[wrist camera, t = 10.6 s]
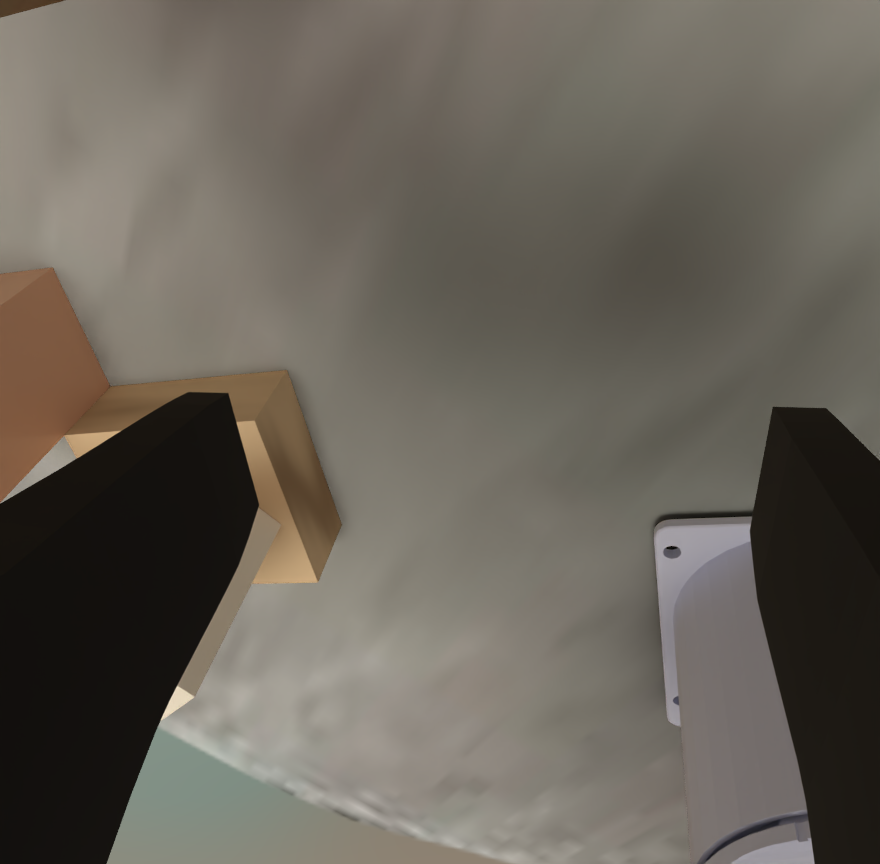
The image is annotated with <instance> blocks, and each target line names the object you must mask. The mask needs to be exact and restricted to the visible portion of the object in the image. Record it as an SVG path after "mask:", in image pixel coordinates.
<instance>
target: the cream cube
mask: <svg viewBox="0 0 880 864" xmlns="http://www.w3.org/2000/svg"><path fill="white" fill-rule="evenodd" d="M280 526H281V524H280V523H278V522H277V521H276V520H274V519H273V518H272V517H270V516H269V515H268V514H266V513H265V512H264V511H263V510H261V509H260V508H259V507H258V511H257V514H256V517H255V520H254V523H253V526H252V529H251V532H250V536H249V539H248V541H247V544H246V547H245V550H244V552H243V555H242V558H241V561H240V563H239V566H238V568H237V570H236V572H235V574H234V576H233V578H232V580H231V582H230V584H229V586H228V588H227V590H226V592H225V594H224V596H223V598H222V600H221V602H220V604H219V606H218V608H217V610H216V612H215V614H214V616H213V618H212V620H211V622H210V624H209V626H208V627H207V629H206V631H205V633H204V635H203V637H202V639H201V641H200V643H199V645H198V647H197V649H196V651H195V653H194V654H193V656H192V658H191V660H190V662H189V664H188V666H187V668H186V670H185V672H184V674H183V676H182V678H181V680H180V681H179V683H178V685H177V687H176V689H175V691H174V693H173V695H172V697H171V699H170V701H169V703H168V705H167V708H166V710H165V712H164V714H163V716H162V718H161V720H163V719H164V718H165V717H167V716H168V715H170V714H171V713H173V712H174V711H175V710H177V709H178V708H180V707H181V706H183V705H184V704H185V703H187V702H188V701H190V700H191V699H192V698H194V697H195V695H196V693H197V691H198V689H199V687H200V685H201V683H202V681H203V679H204V677H205V675H206V673H207V671H208V669H209V667H210V665H211V663H212V662H213V660H214V658H215V656H216V654H217V652H218V650H219V648H220V646H221V644H222V642H223V640H224V638H225V636H226V634H227V632H228V630H229V628H230V626H231V624H232V622H233V620H234V618H235V616H236V614H237V612H238V610H239V608H240V606H241V604H242V602H243V600H244V598H245V596H246V594H247V592H248V590H249V588H250V586H251V584H252V582H253V580H254V578H255V576H256V574H257V572H258V570H259V568H260V566H261V564H262V562H263V560H264V558H265V556H266V554H267V552H268V550H269V548H270V546H271V544H272V542H273V540H274V538H275V536H276V534H277V532H278V530H279V528H280Z"/></svg>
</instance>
